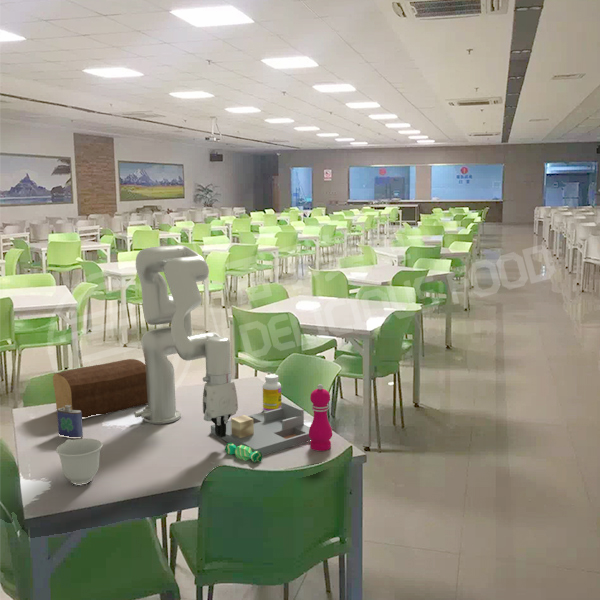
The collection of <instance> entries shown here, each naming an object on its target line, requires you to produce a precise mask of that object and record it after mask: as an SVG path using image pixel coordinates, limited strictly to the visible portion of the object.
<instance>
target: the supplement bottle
mask: <svg viewBox="0 0 600 600" xmlns="http://www.w3.org/2000/svg"><path fill="white" fill-rule="evenodd" d="M264 381H265V382H263V383H262V412H265V411H269V410H275V409H279V408H281V402H282V384H281V383H280V381H279V375H277V374H275V373H274V374H273V373H272V374H271V373H270V374H266V375H265V376H264Z"/></svg>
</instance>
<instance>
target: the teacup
mask: <svg viewBox="0 0 600 600" xmlns="http://www.w3.org/2000/svg"><path fill="white" fill-rule="evenodd" d="M101 448H103V442H101V441H100V440H99V439H95V438H94V439H93V438H81V439H71V438H67V439H66V440H65V442H64V443H60V444H59V445H58V446H57V448H56V450H55V451H56V454H58V455H59V458H60V463H61V468H62V473H63V475H64V476H65V478H67V479H68V480H70V483H71V482H72V483H76V484H82V483H87V482H89V481H91V480H92V478H93V477H94V476H96V475H97V473H98V471H99V467H100V453H101Z"/></svg>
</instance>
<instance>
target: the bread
mask: <svg viewBox="0 0 600 600" xmlns="http://www.w3.org/2000/svg"><path fill="white" fill-rule="evenodd" d="M52 383H53V390H54V396H55V404H56V406H55V407H56V408H55V409H59V408H63V407H64V408H67V407H65V405H69V406H70V405H71V409H70V410H80V411H81V413H82V417H88V416H91V415H96V414H104V415H107V414H106V413H108V414H112V413H115V412H116V413H117V412H120V411H125V410H129V409H132V408H136V407H141V406H144V405H148V401H147V382H146V366H145V362H143V361H141V360H138V359H135V358H128V359H123V360H122V359H121V360H118V361H112V362H107V363H101V364H100V363H99V364H95V365H91V366H90V365H89V366H83V367H78V368H75V369H74V368H73V369H68V370H63V371H59V372H55V373H54V374H53V375H52Z"/></svg>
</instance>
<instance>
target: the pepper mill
mask: <svg viewBox="0 0 600 600" xmlns="http://www.w3.org/2000/svg"><path fill="white" fill-rule="evenodd" d="M316 387H317V388H316V389H313V390H312V392H311V393H310V399H309V400H310V402H311V403H312V404H311V407H312V408H311V410H312V411H313V419H312V421H311V424H310V426H309V427H310V429H309V437H310V438H311V441H309V442H310V449H312V450H313V451H316V450H317V451H318V452H324V451H325V452H326V451H328V450H330V449H331V447H332V444H331V443H332V441H331V439H332V437H333V429H332V426H331V424H330V421H329V418H328V410H329V409H330V408H329V406H330V405H329V402H330V401H331V394H330V392H329V391H328V390H327V389H325V388H324V385H323V384H321V383H319V384H318V385H317V386H316Z"/></svg>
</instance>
